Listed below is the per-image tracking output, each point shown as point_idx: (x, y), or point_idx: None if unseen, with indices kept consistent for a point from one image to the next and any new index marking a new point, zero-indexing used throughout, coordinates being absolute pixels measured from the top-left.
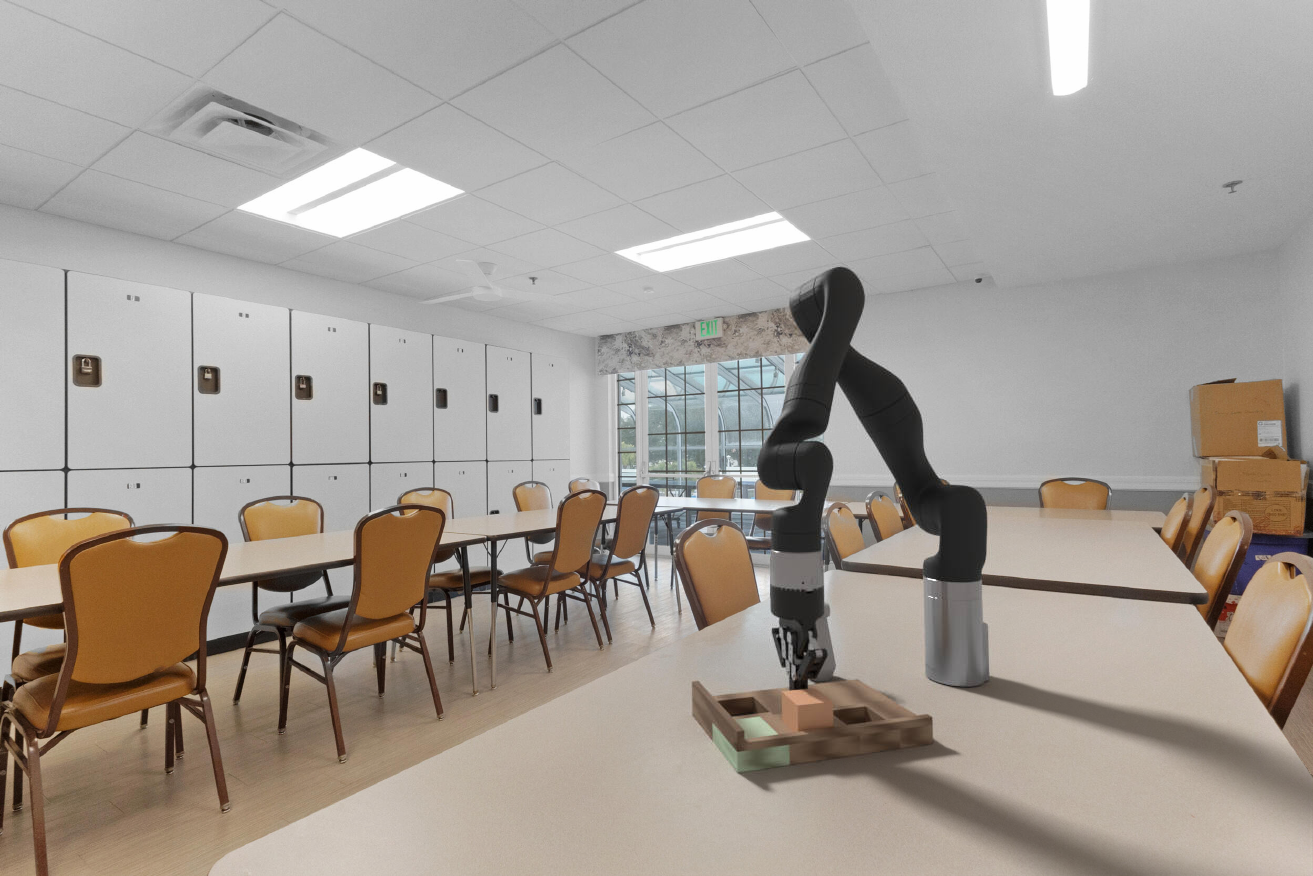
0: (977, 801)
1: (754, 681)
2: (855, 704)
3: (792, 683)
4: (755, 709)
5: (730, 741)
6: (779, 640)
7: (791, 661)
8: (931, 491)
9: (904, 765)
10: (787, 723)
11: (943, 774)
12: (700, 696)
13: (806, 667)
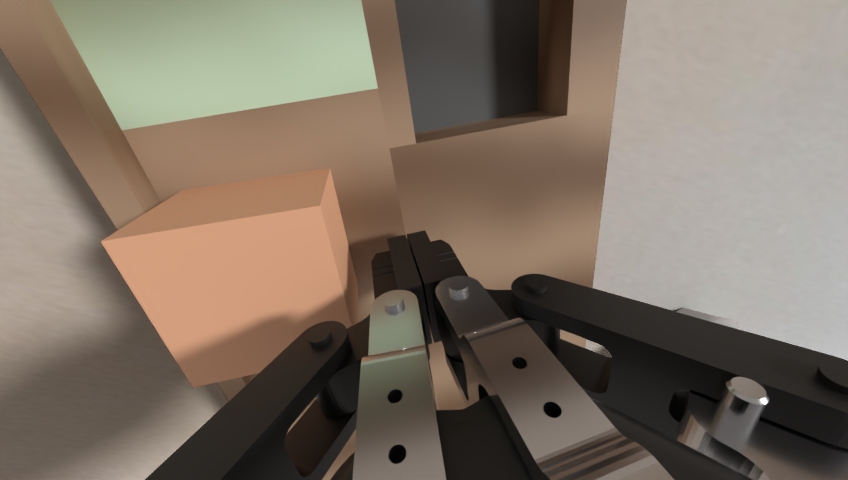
0: (41, 470)
1: (735, 176)
2: (434, 387)
3: (406, 277)
4: (528, 115)
5: None
6: (697, 374)
7: (376, 363)
8: None
9: (194, 395)
10: (279, 178)
11: (161, 444)
12: None
13: (183, 444)
